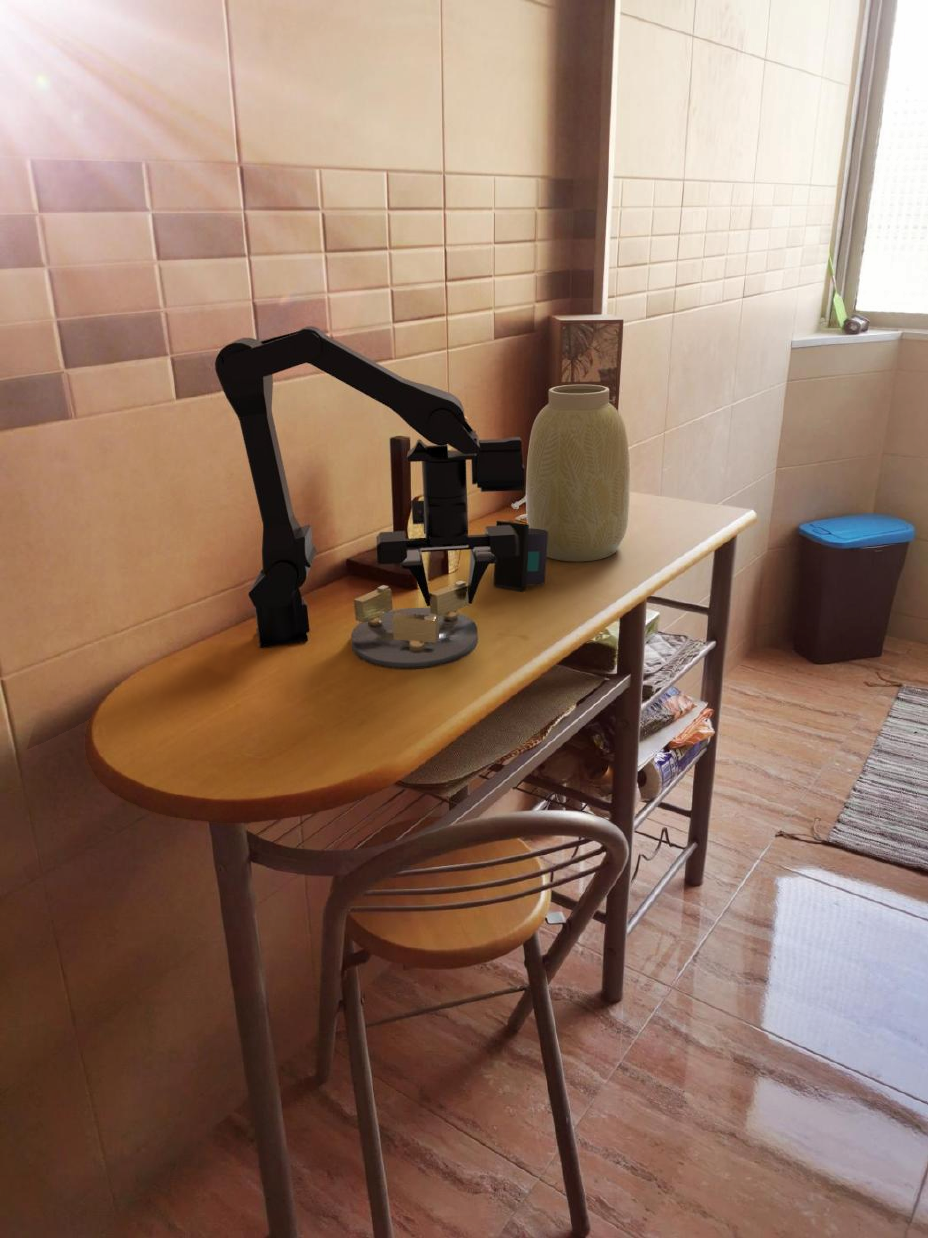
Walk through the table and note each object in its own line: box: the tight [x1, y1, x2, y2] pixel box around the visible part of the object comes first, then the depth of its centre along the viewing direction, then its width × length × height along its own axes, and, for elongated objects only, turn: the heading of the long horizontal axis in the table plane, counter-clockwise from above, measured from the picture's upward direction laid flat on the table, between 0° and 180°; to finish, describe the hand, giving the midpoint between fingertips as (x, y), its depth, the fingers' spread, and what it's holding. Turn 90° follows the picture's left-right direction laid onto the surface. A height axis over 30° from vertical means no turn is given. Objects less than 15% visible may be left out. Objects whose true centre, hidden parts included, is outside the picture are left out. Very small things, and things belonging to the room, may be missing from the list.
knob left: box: [353, 584, 394, 628], centre depth 126 cm, size 6×2×5 cm, turn 141°
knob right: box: [429, 580, 470, 622], centre depth 127 cm, size 6×2×5 cm, turn 131°
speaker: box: [493, 520, 548, 593], centre depth 142 cm, size 8×6×10 cm
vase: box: [525, 384, 631, 562], centre depth 154 cm, size 17×17×27 cm
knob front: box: [392, 613, 439, 652], centre depth 118 cm, size 6×2×5 cm, turn 75°
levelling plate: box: [350, 607, 479, 670], centre depth 125 cm, size 17×17×2 cm
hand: (449, 603), depth 127 cm, fingers closed on knob right, 5 cm apart
